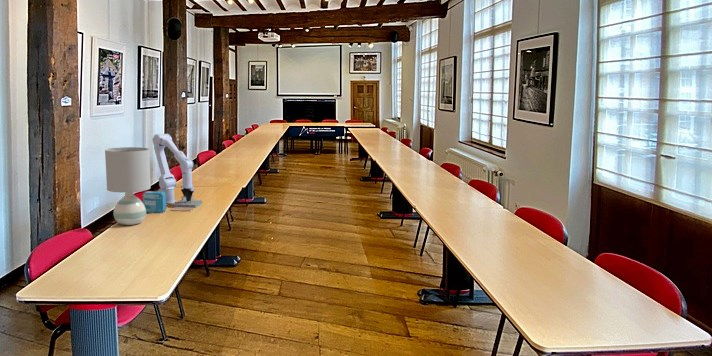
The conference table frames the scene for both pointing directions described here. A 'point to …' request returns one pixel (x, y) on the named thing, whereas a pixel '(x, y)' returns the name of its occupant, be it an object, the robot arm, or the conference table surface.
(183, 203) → the cover plate
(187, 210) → the tile
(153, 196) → the blue box
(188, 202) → the t key
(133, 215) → the lamp
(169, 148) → the robot arm
